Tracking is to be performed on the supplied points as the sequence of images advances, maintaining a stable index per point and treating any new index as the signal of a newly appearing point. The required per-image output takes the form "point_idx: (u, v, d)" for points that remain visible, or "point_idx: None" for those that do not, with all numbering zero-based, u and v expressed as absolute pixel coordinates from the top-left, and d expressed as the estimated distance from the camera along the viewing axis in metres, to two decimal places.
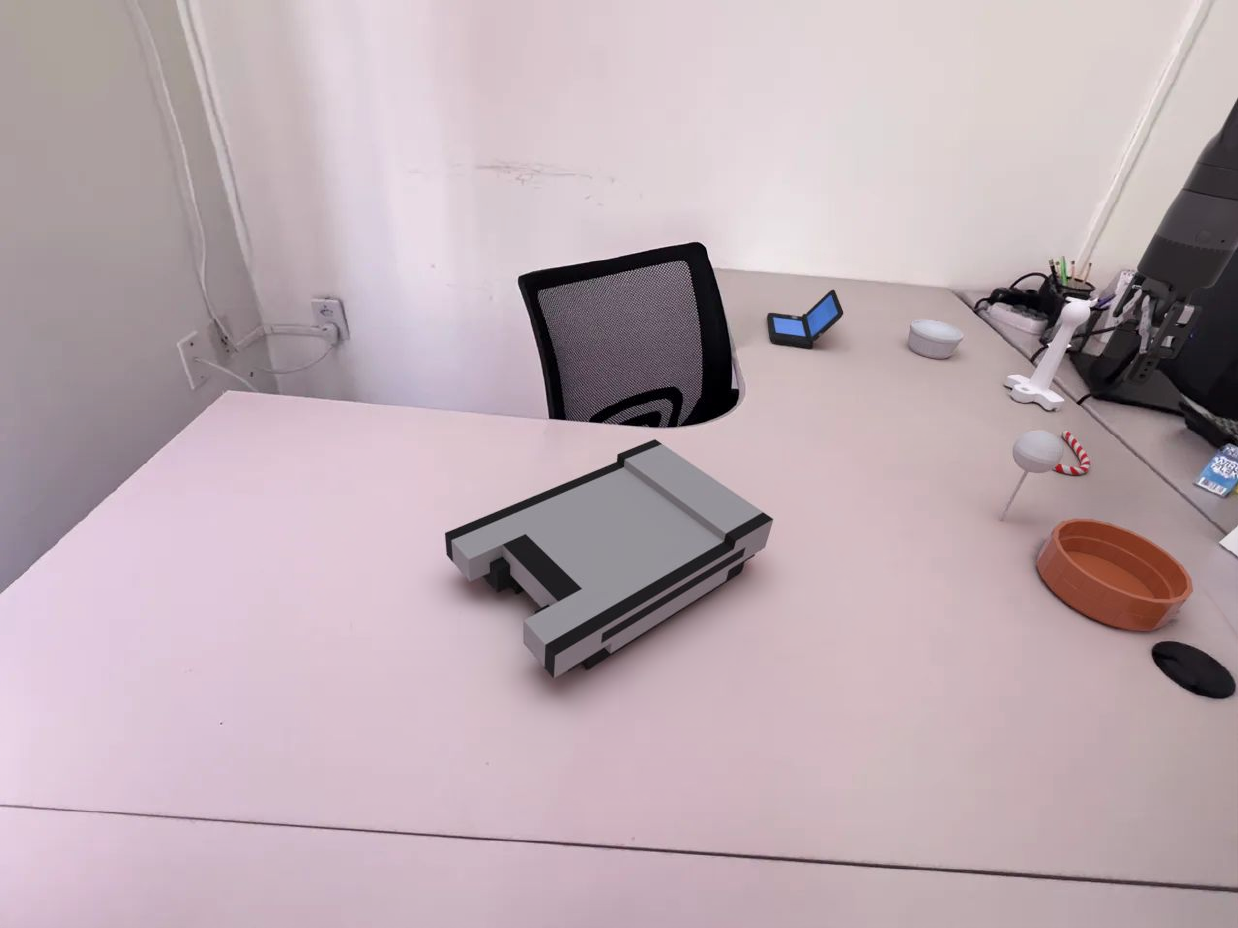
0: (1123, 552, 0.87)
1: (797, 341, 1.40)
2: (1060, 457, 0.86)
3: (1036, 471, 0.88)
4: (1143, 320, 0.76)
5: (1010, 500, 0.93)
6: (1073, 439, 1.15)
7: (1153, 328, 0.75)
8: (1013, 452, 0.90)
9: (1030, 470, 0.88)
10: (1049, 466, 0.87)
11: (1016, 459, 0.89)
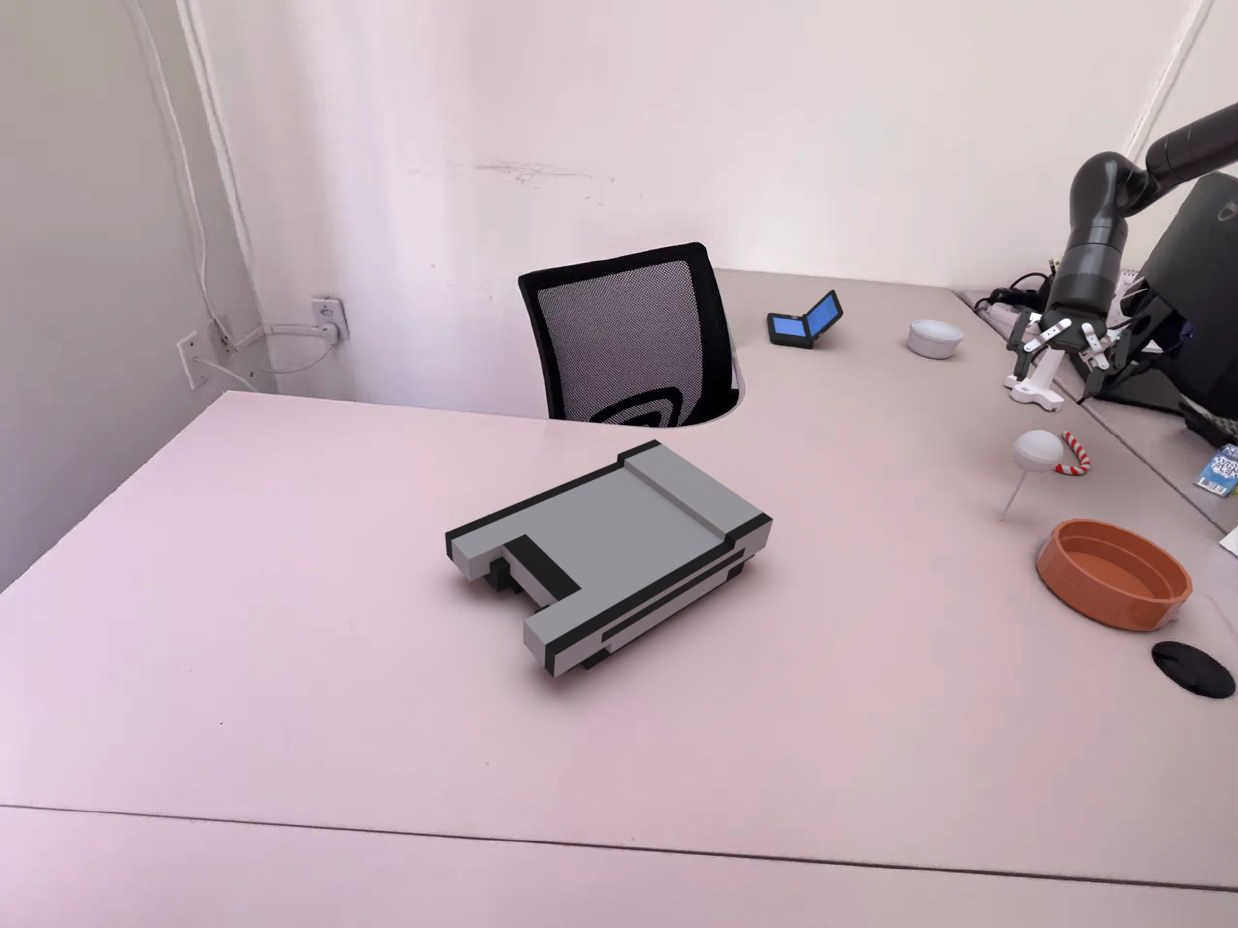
0: (1123, 552, 0.87)
1: (797, 341, 1.40)
2: (1060, 457, 0.86)
3: (1036, 471, 0.88)
4: None
5: (1010, 500, 0.93)
6: (1073, 439, 1.15)
7: None
8: (1013, 452, 0.90)
9: (1030, 470, 0.88)
10: (1050, 466, 0.87)
11: (1016, 458, 0.89)
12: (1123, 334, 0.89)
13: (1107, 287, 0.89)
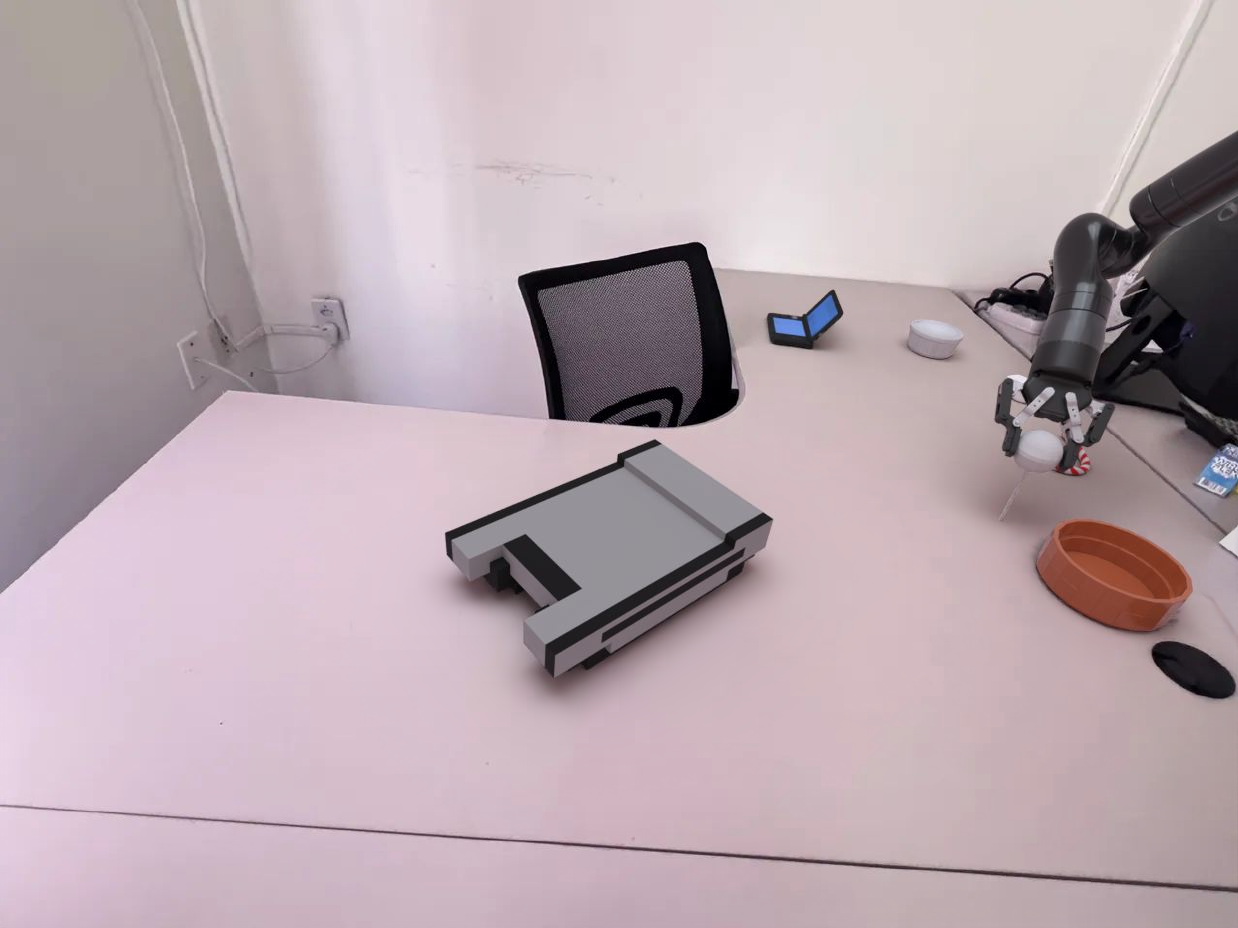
0: (1123, 552, 0.87)
1: (797, 341, 1.40)
2: (1060, 457, 0.86)
3: (1036, 471, 0.88)
4: None
5: (1010, 500, 0.93)
6: None
7: (1020, 412, 0.91)
8: None
9: (1030, 470, 0.88)
10: (1049, 466, 0.87)
11: (1016, 459, 0.89)
12: (1106, 408, 0.86)
13: (1091, 355, 0.86)
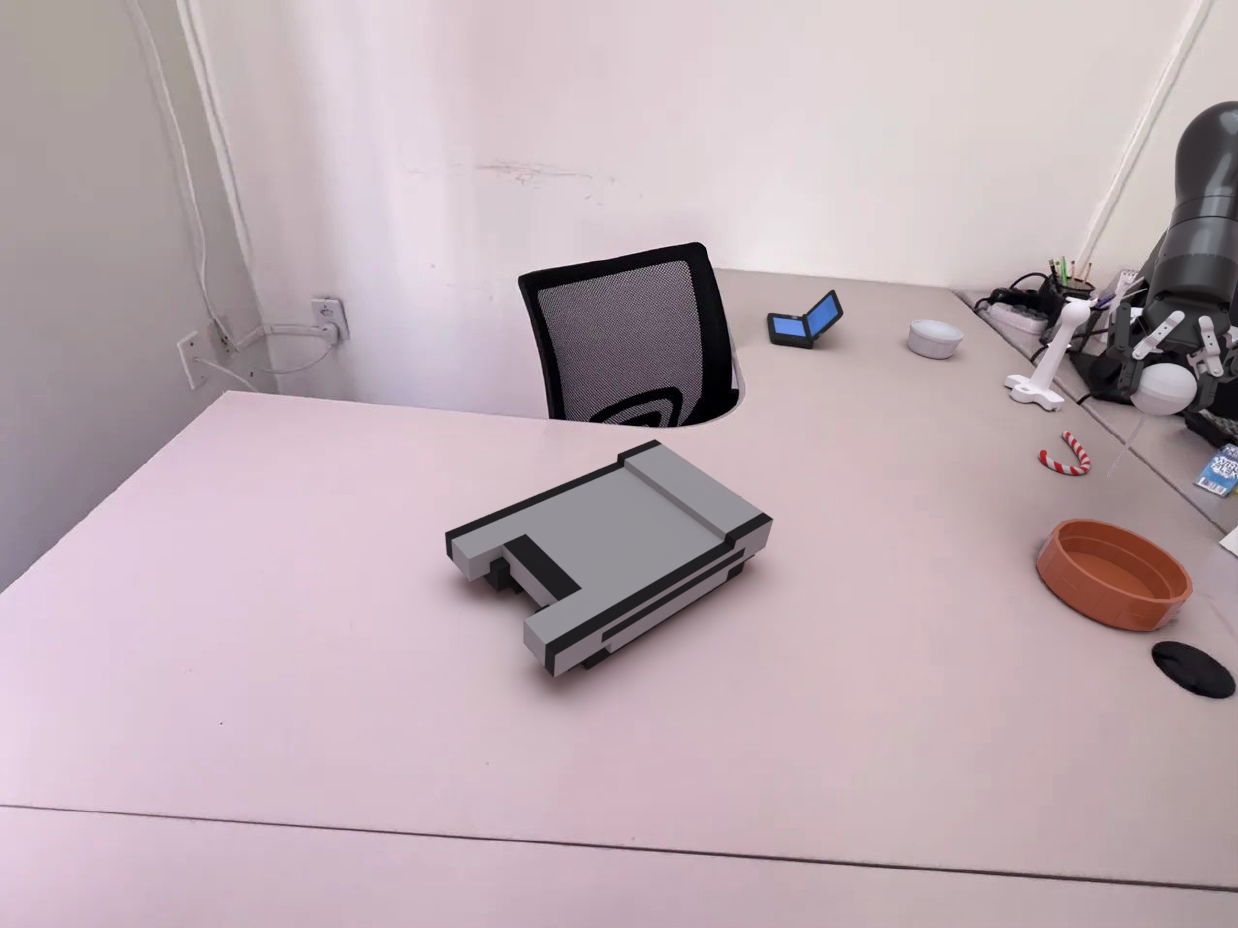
0: (1123, 552, 0.87)
1: (797, 341, 1.40)
2: (1194, 394, 0.71)
3: (1162, 412, 0.73)
4: (1143, 341, 0.76)
5: (1123, 451, 0.78)
6: (1073, 439, 1.15)
7: (1139, 343, 0.75)
8: None
9: (1154, 411, 0.73)
10: (1181, 405, 0.72)
11: (1136, 398, 0.74)
12: None
13: (1231, 271, 0.71)
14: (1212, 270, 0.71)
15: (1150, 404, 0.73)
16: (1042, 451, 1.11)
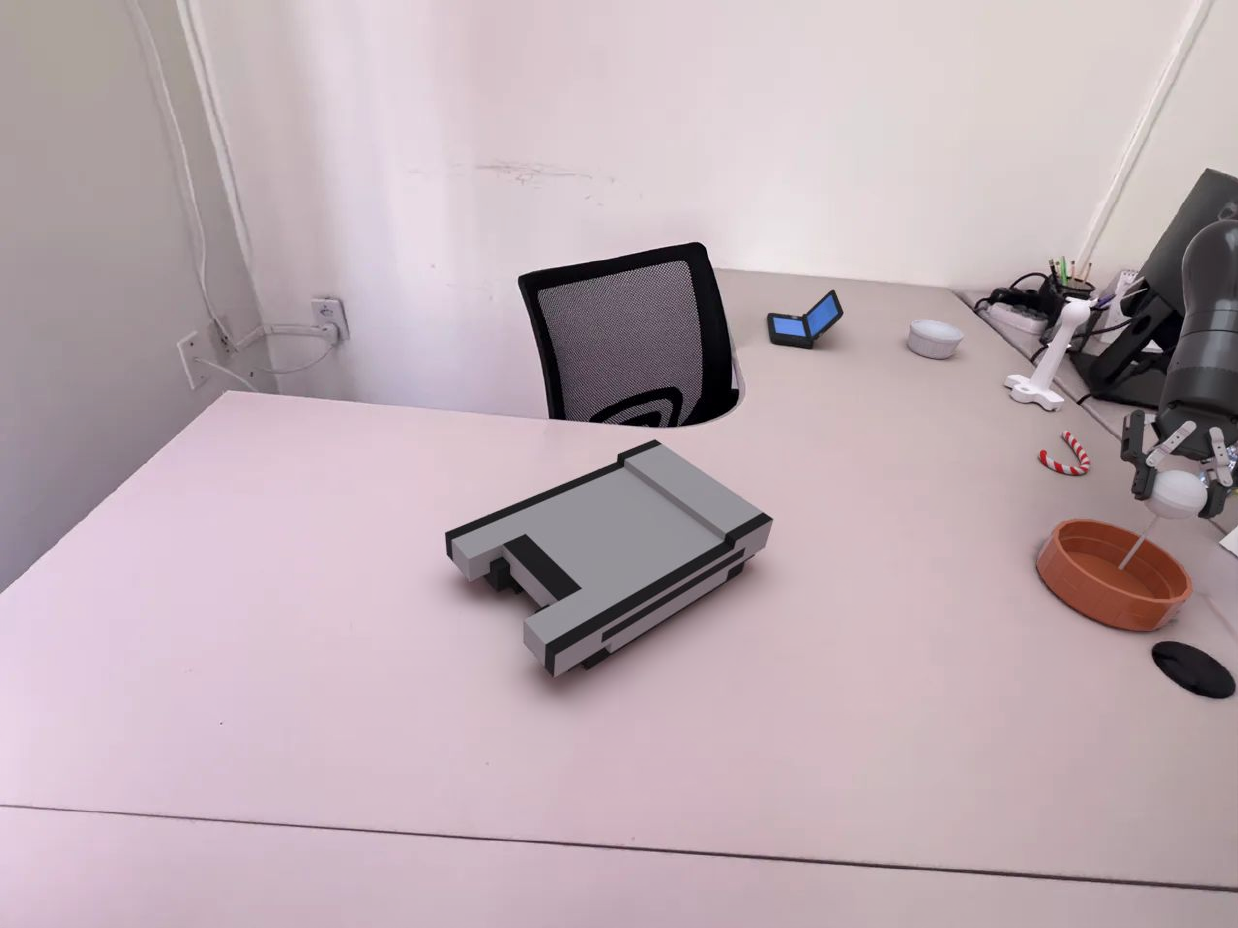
0: (1123, 552, 0.87)
1: (797, 341, 1.40)
2: (1204, 502, 0.75)
3: (1174, 518, 0.76)
4: None
5: (1135, 547, 0.82)
6: (1073, 439, 1.15)
7: (1152, 448, 0.79)
8: None
9: (1167, 516, 0.77)
10: (1192, 513, 0.75)
11: (1149, 503, 0.77)
12: None
13: None
14: (1223, 384, 0.75)
15: (1163, 510, 0.76)
16: (1042, 451, 1.11)
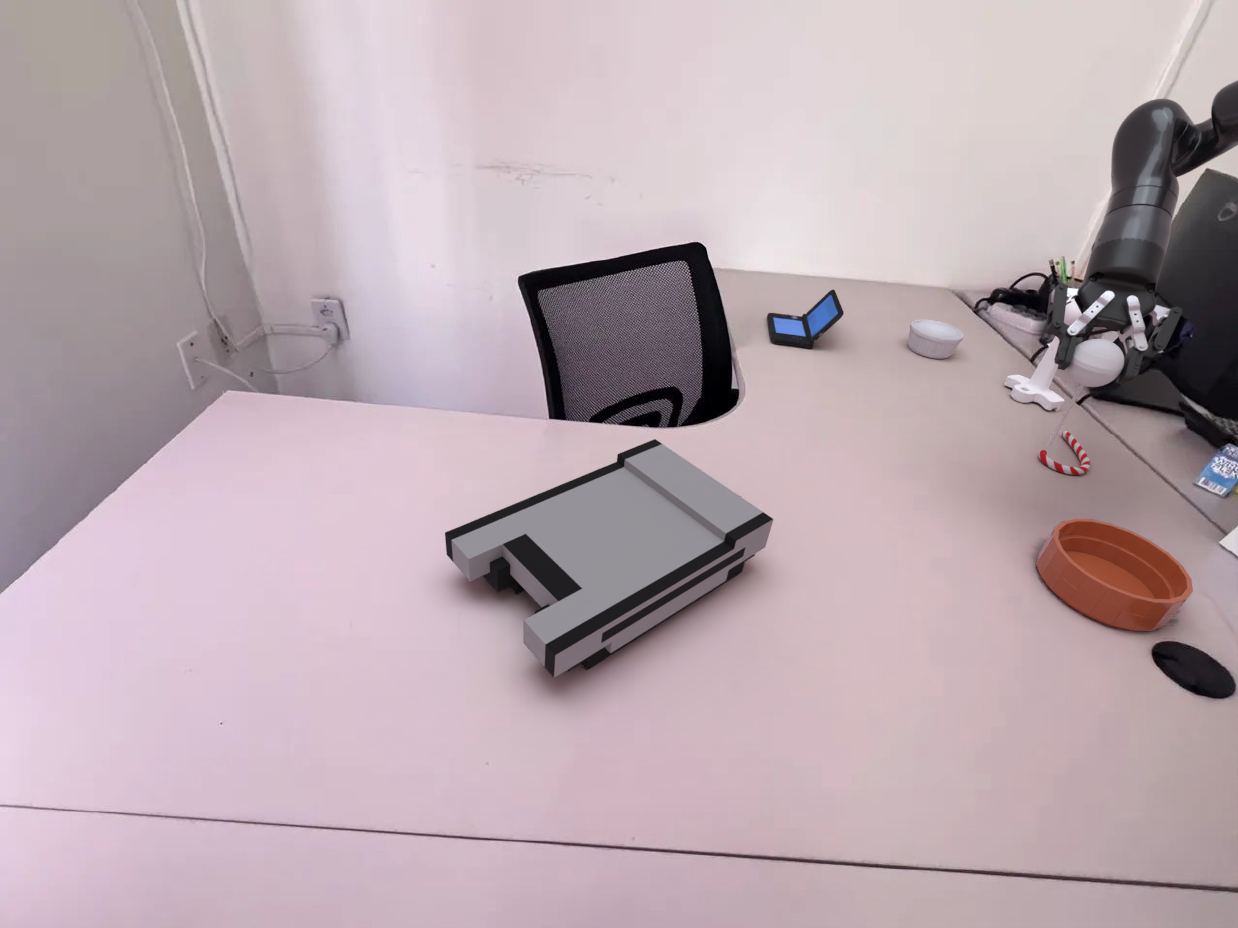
0: (1123, 552, 0.87)
1: (797, 341, 1.40)
2: (1121, 367, 0.78)
3: (1093, 384, 0.80)
4: None
5: (1061, 421, 0.85)
6: (1073, 439, 1.15)
7: None
8: None
9: (1087, 383, 0.80)
10: (1109, 377, 0.78)
11: (1070, 371, 0.81)
12: (1172, 312, 0.78)
13: (1156, 254, 0.78)
14: (1139, 253, 0.78)
15: (1082, 376, 0.80)
16: (1042, 451, 1.11)
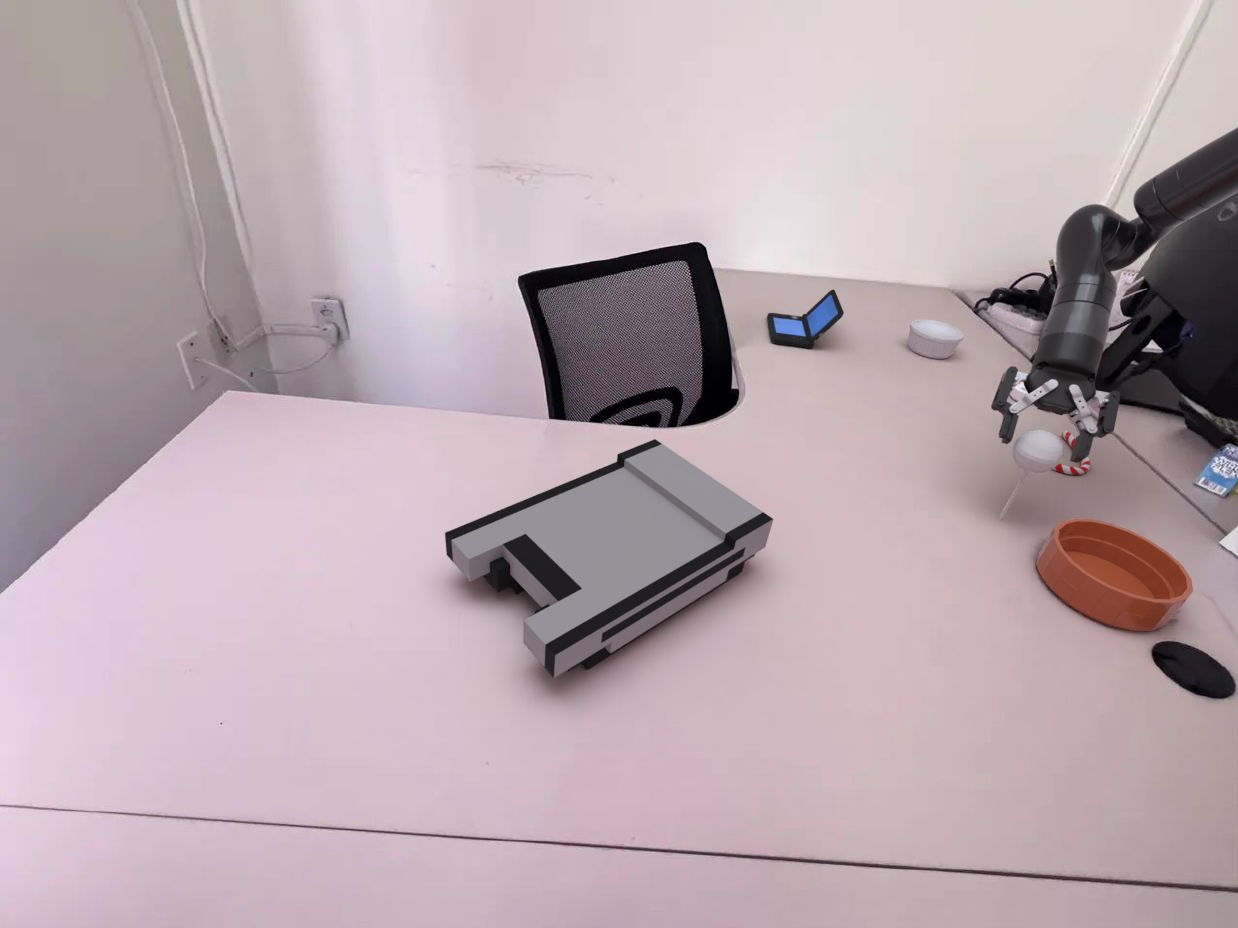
0: (1123, 552, 0.87)
1: (797, 341, 1.40)
2: (1060, 457, 0.87)
3: (1036, 471, 0.88)
4: None
5: (1010, 500, 0.93)
6: (1073, 439, 1.15)
7: None
8: (1013, 452, 0.90)
9: (1030, 470, 0.88)
10: (1050, 466, 0.87)
11: (1016, 458, 0.89)
12: (1112, 396, 0.86)
13: (1095, 347, 0.86)
14: (1079, 347, 0.86)
15: (1026, 464, 0.88)
16: None
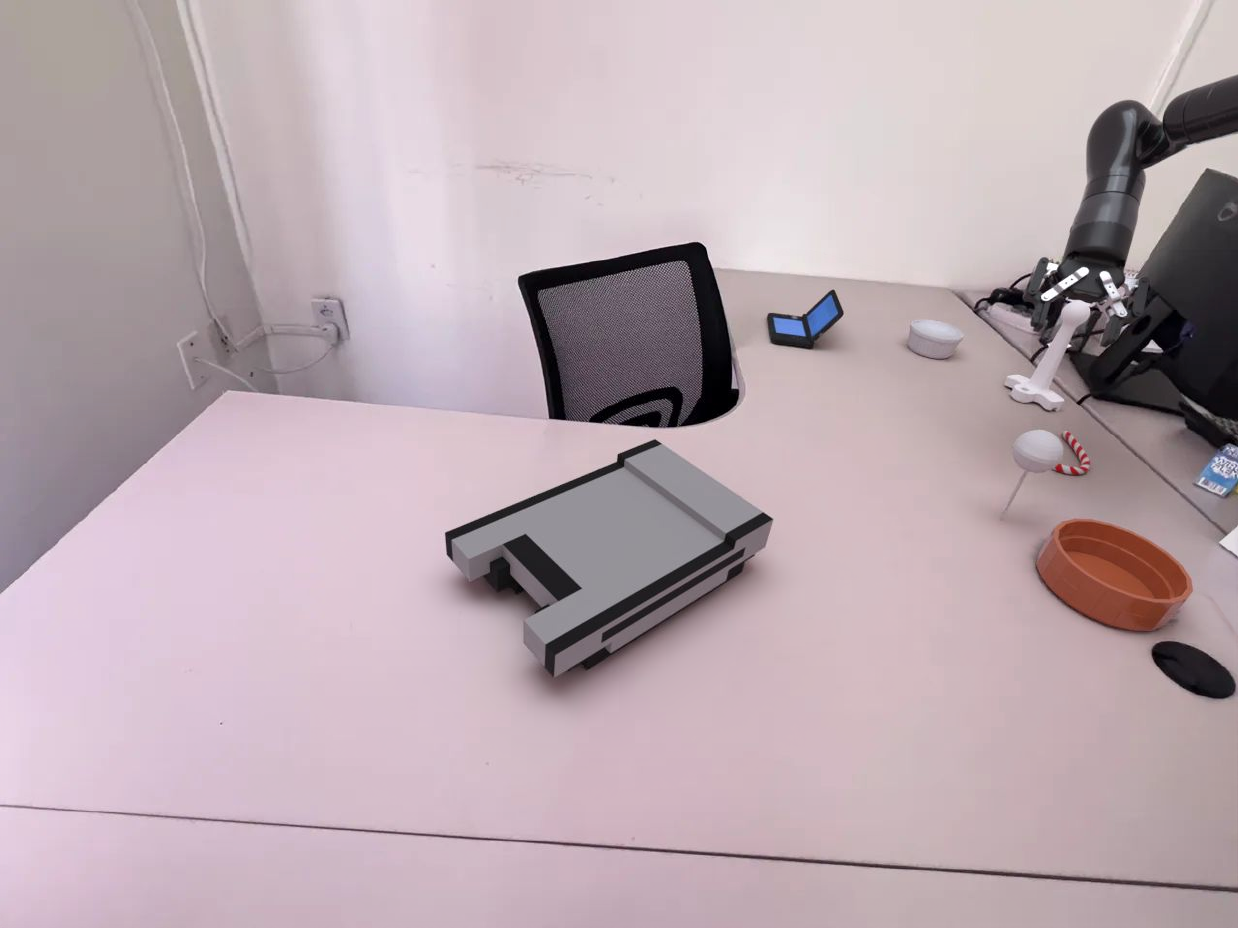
0: (1123, 552, 0.87)
1: (797, 341, 1.40)
2: (1060, 457, 0.87)
3: (1036, 471, 0.88)
4: None
5: (1010, 500, 0.93)
6: (1073, 439, 1.15)
7: None
8: (1013, 452, 0.90)
9: (1030, 470, 0.88)
10: (1050, 466, 0.87)
11: (1016, 458, 0.89)
12: (1141, 282, 0.89)
13: (1125, 235, 0.89)
14: (1110, 234, 0.89)
15: (1026, 464, 0.88)
16: None
